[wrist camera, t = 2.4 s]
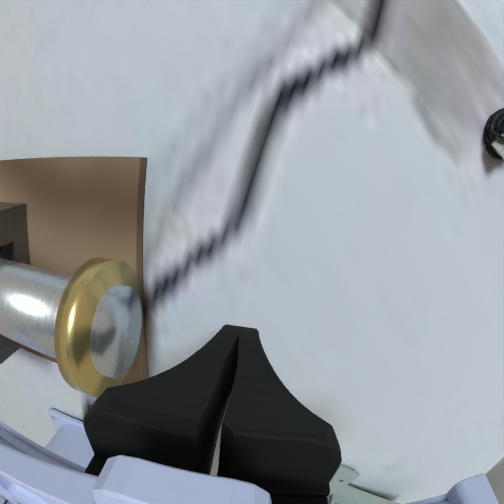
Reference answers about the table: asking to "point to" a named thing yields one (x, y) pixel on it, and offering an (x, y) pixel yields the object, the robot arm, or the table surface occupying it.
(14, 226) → the bearing block
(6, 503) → the robot arm
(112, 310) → the shaft
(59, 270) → the base board
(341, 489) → the metal bracket
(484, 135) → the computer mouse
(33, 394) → the table surface
